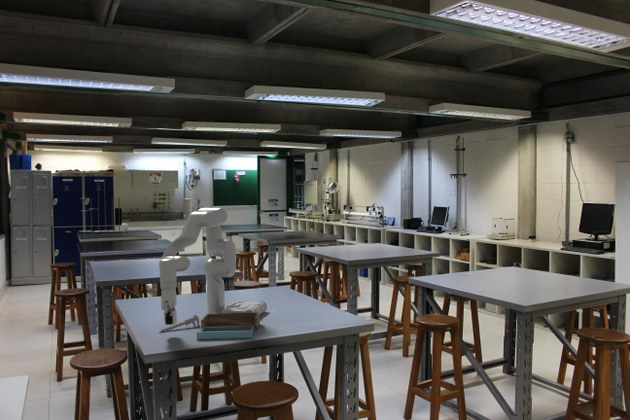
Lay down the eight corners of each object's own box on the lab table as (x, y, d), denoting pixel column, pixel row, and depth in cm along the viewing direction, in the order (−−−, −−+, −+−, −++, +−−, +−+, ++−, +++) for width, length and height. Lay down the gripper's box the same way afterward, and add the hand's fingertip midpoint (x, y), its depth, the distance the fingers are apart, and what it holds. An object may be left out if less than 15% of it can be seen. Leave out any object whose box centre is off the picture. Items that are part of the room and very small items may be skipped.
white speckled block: (167, 322, 239) (166, 310, 239) (176, 321, 239) (176, 309, 239) (164, 325, 234) (163, 312, 234) (174, 324, 235) (173, 312, 234)
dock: (206, 325, 254) (206, 313, 254) (259, 323, 255) (259, 312, 254) (201, 331, 242) (200, 319, 242) (257, 330, 243) (256, 318, 242)
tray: (202, 332, 241) (202, 325, 241) (255, 330, 241) (255, 324, 241) (196, 339, 229) (196, 332, 229) (252, 337, 230) (252, 330, 229)
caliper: (198, 325, 255) (198, 313, 255) (199, 326, 254) (198, 314, 254) (158, 332, 244) (158, 320, 244) (159, 333, 243) (158, 320, 243)
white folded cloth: (270, 310, 286) (269, 296, 286) (254, 322, 259) (253, 308, 259) (238, 309, 290) (237, 296, 290) (219, 322, 263) (218, 308, 263)
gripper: (165, 281, 244) (167, 317, 245) (155, 288, 227) (157, 328, 228) (181, 280, 244) (183, 317, 245) (171, 288, 227) (173, 327, 228)
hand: (170, 322), depth 237 cm, fingers closed on white speckled block, 4 cm apart
